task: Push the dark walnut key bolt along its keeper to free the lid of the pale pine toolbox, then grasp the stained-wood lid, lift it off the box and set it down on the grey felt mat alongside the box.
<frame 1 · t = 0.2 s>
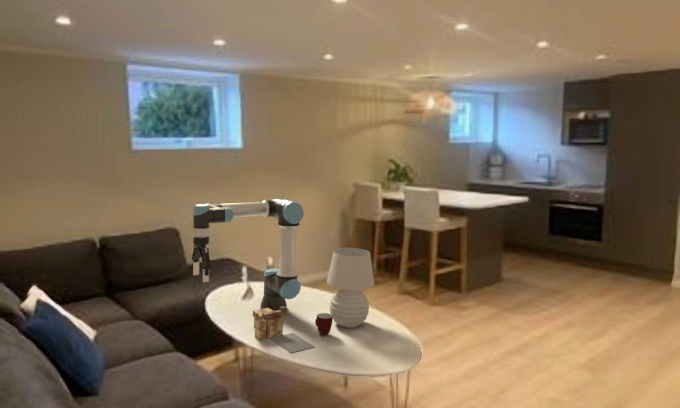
hand: (200, 278, 254), 28 cm above the table, fingers open, 13 cm apart
mat: (292, 342, 250), on the table
toolbox: (268, 331, 263), on the table
table lamp: (348, 324, 277), on the table
lid: (268, 319, 262), point 6 cm above the table, touching toolbox
mug: (322, 334, 262), on the table
key: (273, 312, 257), point 12 cm above the table, slide at 0.0 cm
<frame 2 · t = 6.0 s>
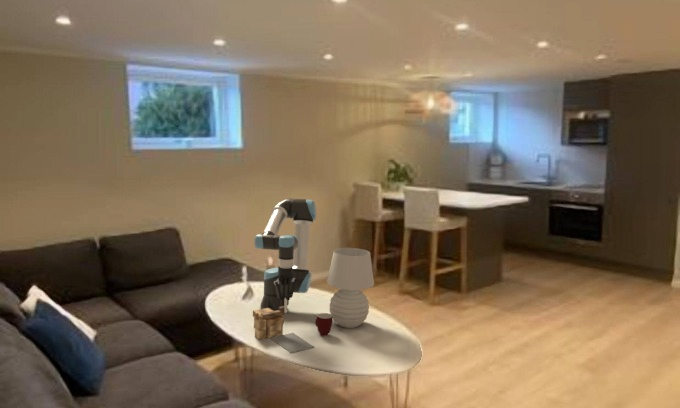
hand: (284, 311, 261), 11 cm above the table, fingers closed
key: (272, 312, 257), point 12 cm above the table, slide at 0.6 cm, touching gripper
everything else where it was.
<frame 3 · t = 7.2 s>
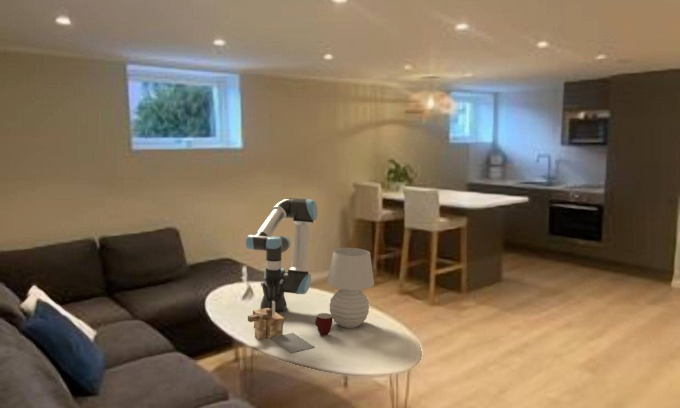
hand: (272, 314, 257), 11 cm above the table, fingers closed
key: (260, 315, 253), point 12 cm above the table, slide at 7.6 cm, touching gripper
everything else where it was.
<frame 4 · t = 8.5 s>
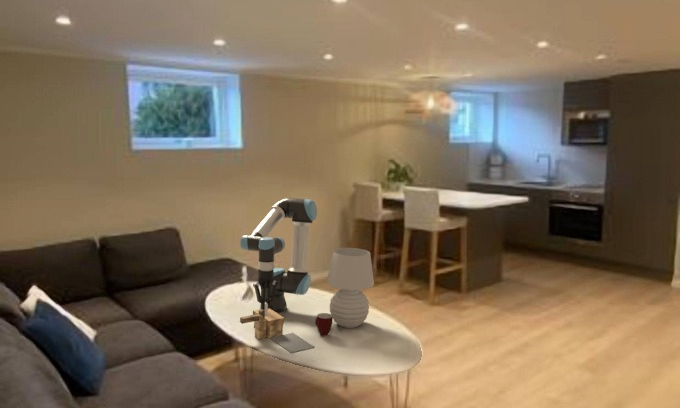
hand: (264, 315, 254), 11 cm above the table, fingers closed
key: (252, 316, 250), point 12 cm above the table, slide at 11.7 cm, touching gripper
everything else where it was.
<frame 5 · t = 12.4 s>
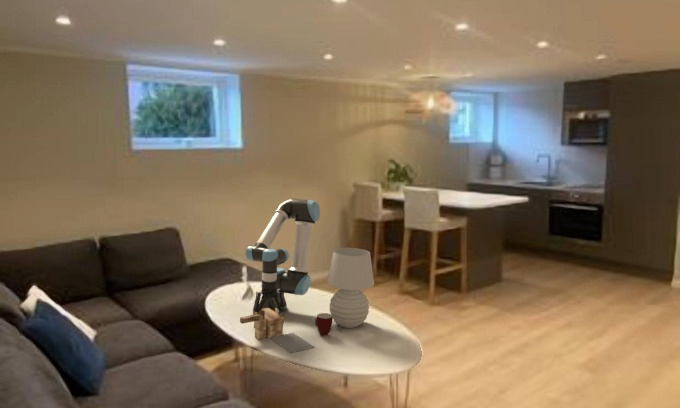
hand: (268, 322, 263), 4 cm above the table, fingers closed on lid, 9 cm apart
lid: (268, 319, 262), point 6 cm above the table, touching gripper, toolbox
key: (252, 316, 250), point 12 cm above the table, slide at 11.7 cm
everything else where it was.
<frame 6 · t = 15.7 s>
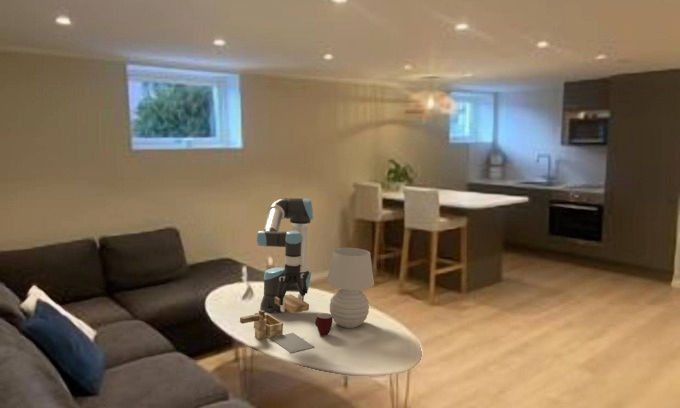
hand: (291, 309, 247), 17 cm above the table, fingers closed on lid, 9 cm apart
lid: (291, 306, 247), point 19 cm above the table, touching gripper
everything else where it was.
when the fingers open (1 cm above the table, at t = 19.3 s): lid drops 2 cm, resting on mat.
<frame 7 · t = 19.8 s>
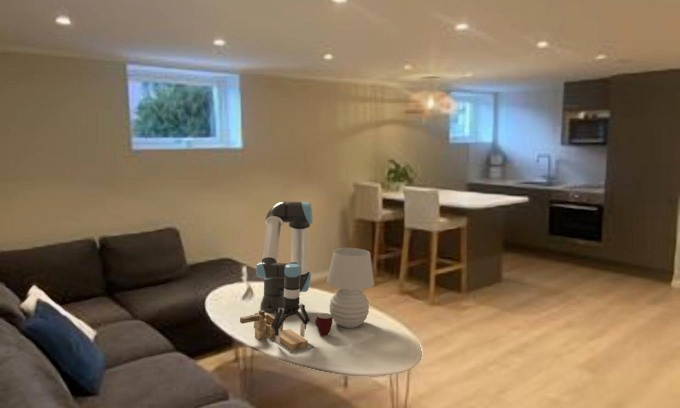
hand: (290, 338, 249), 2 cm above the table, fingers open, 13 cm apart
lid: (290, 342, 249), resting on mat
everything else where it was.
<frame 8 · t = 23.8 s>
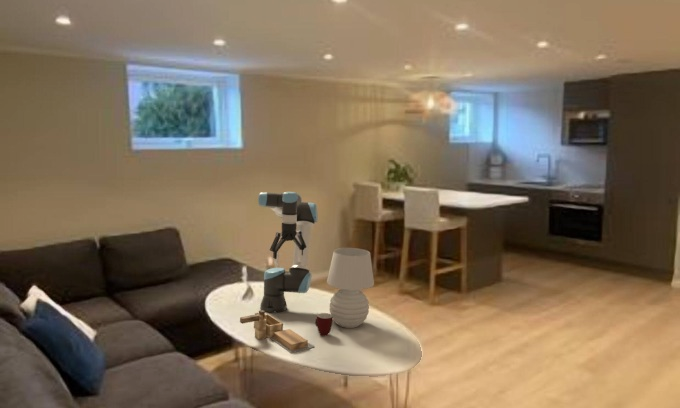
hand: (287, 263, 264), 35 cm above the table, fingers open, 13 cm apart
nothing on the table moved.
at the end: key slide at 11.7 cm; lid inside the target area (0.0 cm from its centre), resting on mat; lid tilted 0° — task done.
